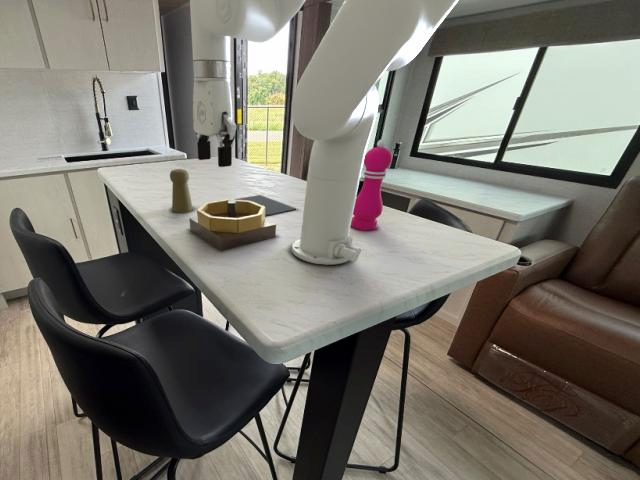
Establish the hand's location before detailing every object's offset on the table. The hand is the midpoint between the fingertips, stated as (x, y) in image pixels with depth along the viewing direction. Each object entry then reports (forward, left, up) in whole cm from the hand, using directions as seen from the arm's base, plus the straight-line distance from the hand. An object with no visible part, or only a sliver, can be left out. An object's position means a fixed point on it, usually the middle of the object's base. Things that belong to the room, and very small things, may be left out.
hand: (214, 162), depth 75 cm
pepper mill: (-22, -31, -15) cm, 41 cm away
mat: (+7, -17, -15) cm, 24 cm away
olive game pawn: (+16, +2, -15) cm, 22 cm away
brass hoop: (-8, 0, -10) cm, 13 cm away
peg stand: (-8, 0, -15) cm, 17 cm away
